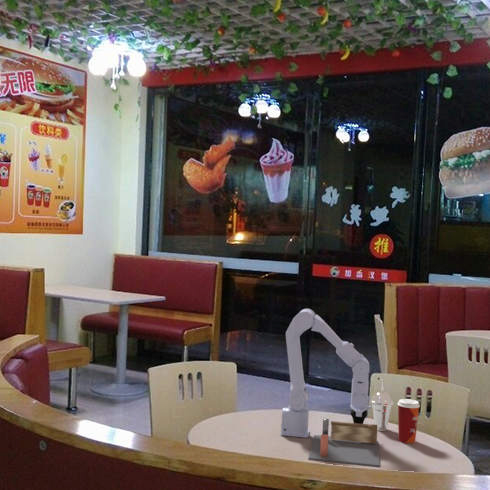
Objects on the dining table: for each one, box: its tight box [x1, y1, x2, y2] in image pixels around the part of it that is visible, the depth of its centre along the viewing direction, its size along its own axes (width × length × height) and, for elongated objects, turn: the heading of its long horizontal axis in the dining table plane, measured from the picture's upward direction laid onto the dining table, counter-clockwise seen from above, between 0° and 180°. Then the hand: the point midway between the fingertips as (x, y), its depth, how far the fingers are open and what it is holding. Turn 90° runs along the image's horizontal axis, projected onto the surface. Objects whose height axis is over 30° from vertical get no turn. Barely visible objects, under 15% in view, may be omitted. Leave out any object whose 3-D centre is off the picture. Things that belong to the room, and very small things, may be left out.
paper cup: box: [397, 398, 421, 444], centre depth 234 cm, size 8×8×14 cm
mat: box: [308, 434, 380, 468], centre depth 221 cm, size 22×24×1 cm
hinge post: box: [321, 418, 330, 436], centre depth 230 cm, size 2×2×8 cm
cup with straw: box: [369, 377, 394, 432], centre depth 246 cm, size 8×9×20 cm
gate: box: [330, 420, 378, 444], centre depth 228 cm, size 16×2×6 cm, turn 80°
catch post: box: [320, 434, 330, 457], centre depth 214 cm, size 2×2×7 cm
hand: (357, 431), depth 233 cm, fingers closed
